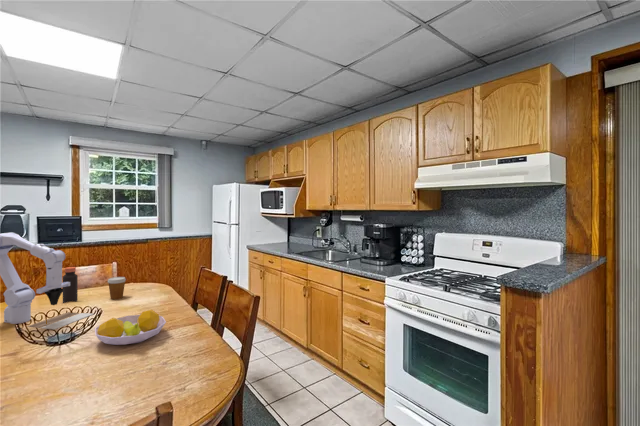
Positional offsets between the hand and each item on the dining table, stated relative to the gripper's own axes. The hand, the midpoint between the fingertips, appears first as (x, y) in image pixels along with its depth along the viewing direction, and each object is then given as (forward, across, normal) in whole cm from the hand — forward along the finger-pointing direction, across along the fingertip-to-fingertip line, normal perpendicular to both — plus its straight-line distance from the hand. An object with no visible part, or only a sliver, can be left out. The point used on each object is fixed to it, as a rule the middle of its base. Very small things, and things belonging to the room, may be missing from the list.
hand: (53, 304), depth 150 cm
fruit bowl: (+9, -7, -48) cm, 49 cm away
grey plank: (+9, +2, -6) cm, 11 cm away
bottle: (+10, +29, +23) cm, 38 cm away
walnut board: (+9, +2, +2) cm, 10 cm away
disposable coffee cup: (+9, +42, +4) cm, 43 cm away
